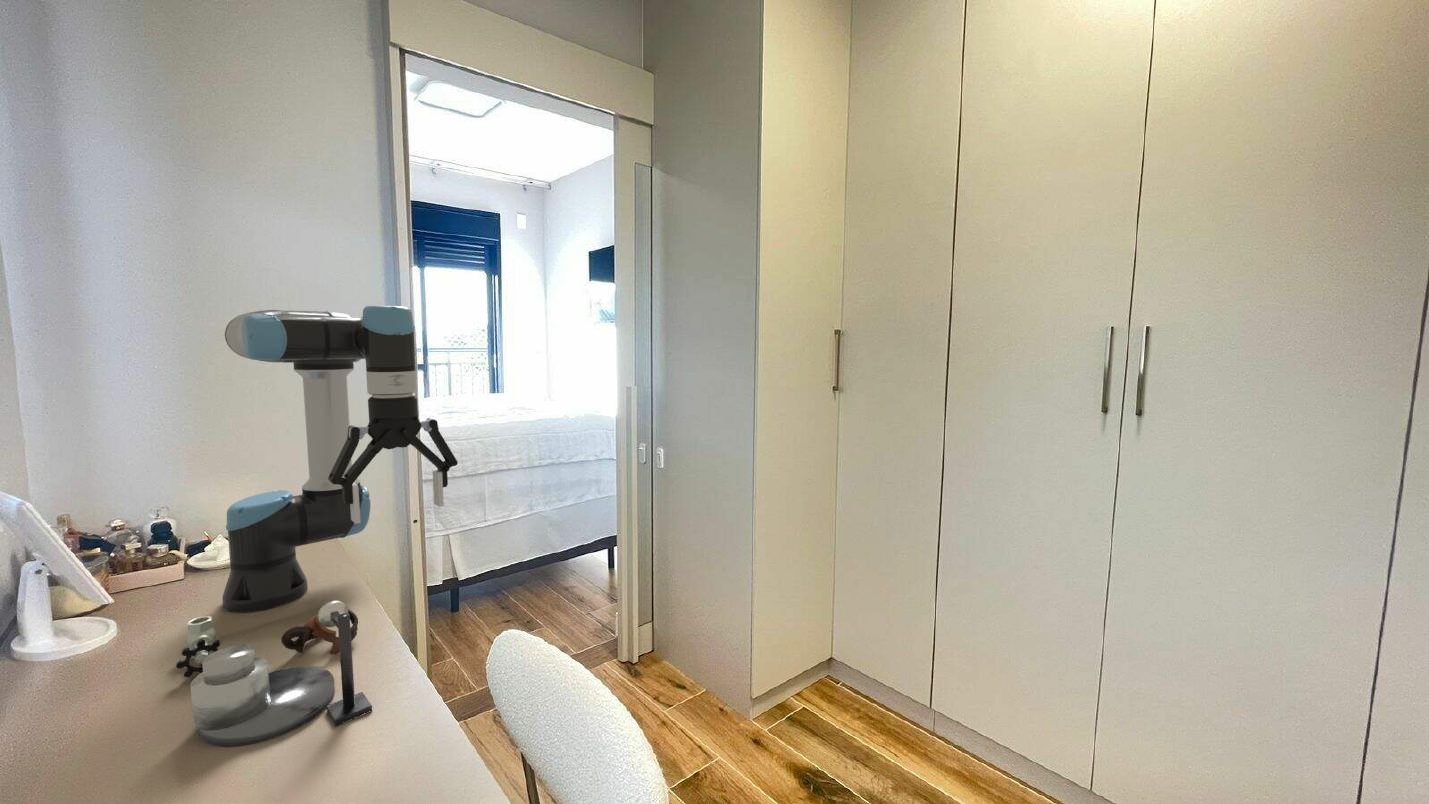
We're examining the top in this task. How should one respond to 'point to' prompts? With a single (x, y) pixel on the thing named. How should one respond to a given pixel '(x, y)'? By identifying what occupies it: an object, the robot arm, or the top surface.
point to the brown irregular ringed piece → (315, 634)
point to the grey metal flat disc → (280, 707)
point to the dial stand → (343, 665)
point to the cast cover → (230, 688)
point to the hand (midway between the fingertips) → (399, 513)
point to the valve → (198, 644)
